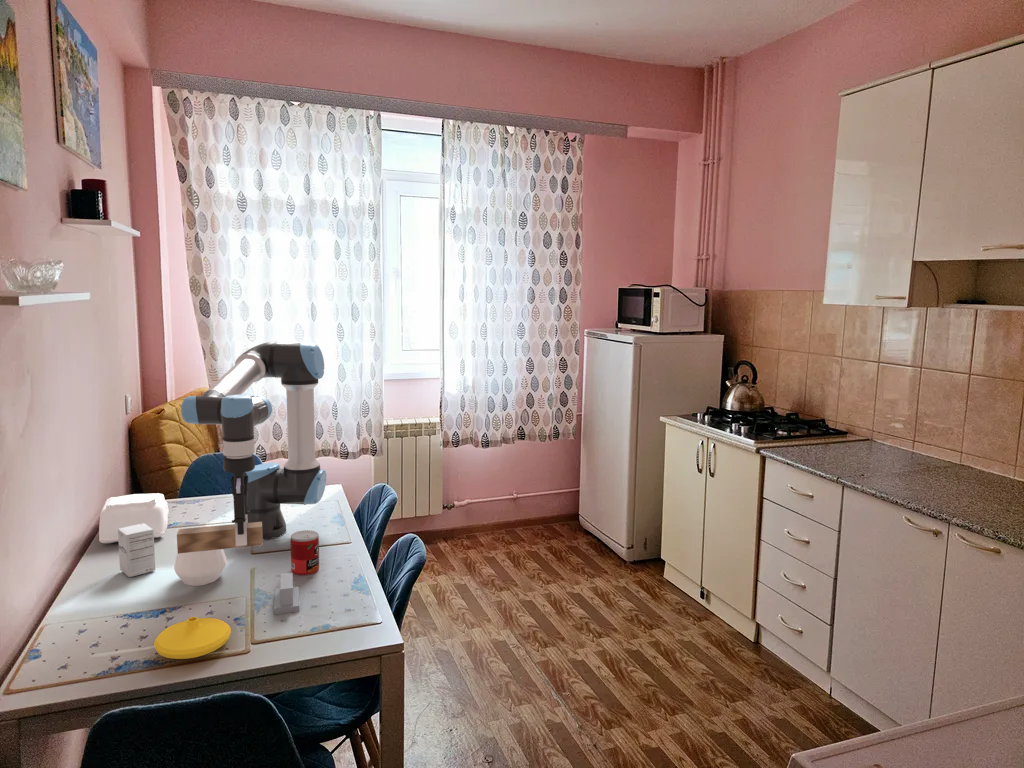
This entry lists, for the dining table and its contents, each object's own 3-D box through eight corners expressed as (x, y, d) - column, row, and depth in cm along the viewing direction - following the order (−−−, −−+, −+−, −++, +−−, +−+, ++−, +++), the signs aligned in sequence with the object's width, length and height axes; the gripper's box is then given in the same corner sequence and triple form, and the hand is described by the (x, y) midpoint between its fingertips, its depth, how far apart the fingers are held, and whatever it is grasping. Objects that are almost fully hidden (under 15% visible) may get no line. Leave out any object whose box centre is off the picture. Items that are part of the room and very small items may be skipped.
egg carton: (97, 548, 208) (94, 507, 206) (109, 519, 234) (107, 482, 233) (166, 540, 216) (164, 500, 214) (169, 513, 243) (168, 477, 241)
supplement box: (119, 570, 191) (116, 528, 189) (147, 563, 196) (145, 522, 195) (128, 578, 186) (125, 534, 184) (156, 570, 191) (154, 528, 190)
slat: (177, 553, 167) (176, 534, 166) (179, 547, 171) (178, 529, 170) (262, 545, 174) (261, 526, 173) (262, 539, 177) (262, 521, 177)
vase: (178, 630, 158) (177, 602, 157) (243, 632, 157) (242, 604, 157) (139, 666, 142) (137, 635, 141) (211, 669, 142) (210, 638, 141)
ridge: (275, 594, 178) (274, 572, 177) (298, 591, 180) (298, 570, 179) (274, 614, 167) (273, 591, 166) (299, 611, 168) (299, 588, 168)
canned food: (311, 577, 189) (310, 540, 188) (285, 574, 190) (285, 537, 189) (324, 567, 196) (323, 531, 195) (299, 564, 198) (298, 529, 197)
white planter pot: (163, 584, 183) (161, 535, 181) (201, 566, 195) (199, 520, 193) (201, 592, 178) (199, 542, 176) (237, 573, 190) (236, 527, 189)
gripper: (226, 448, 177) (229, 532, 180) (219, 464, 161) (223, 555, 164) (256, 446, 180) (258, 529, 183) (252, 462, 164) (255, 552, 167)
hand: (242, 541), depth 174 cm, fingers closed on slat, 4 cm apart
